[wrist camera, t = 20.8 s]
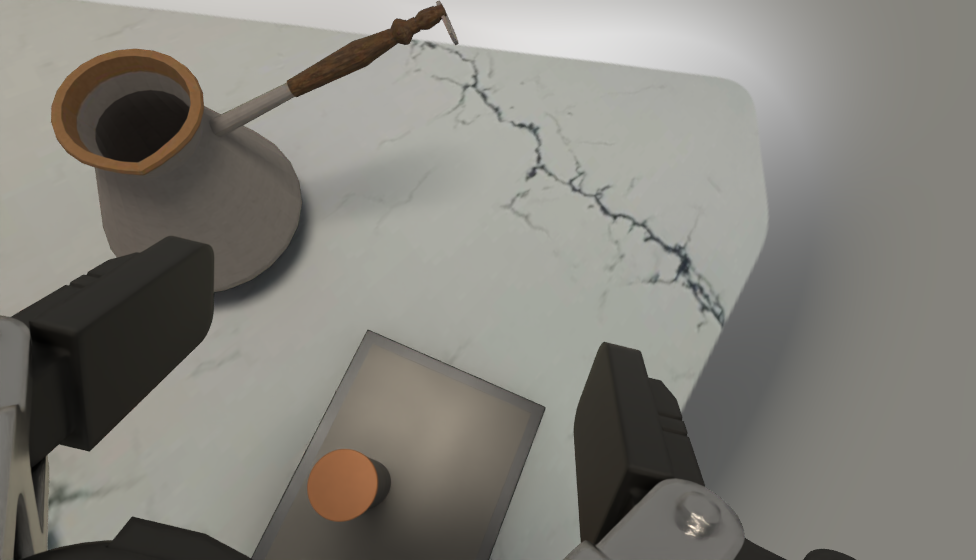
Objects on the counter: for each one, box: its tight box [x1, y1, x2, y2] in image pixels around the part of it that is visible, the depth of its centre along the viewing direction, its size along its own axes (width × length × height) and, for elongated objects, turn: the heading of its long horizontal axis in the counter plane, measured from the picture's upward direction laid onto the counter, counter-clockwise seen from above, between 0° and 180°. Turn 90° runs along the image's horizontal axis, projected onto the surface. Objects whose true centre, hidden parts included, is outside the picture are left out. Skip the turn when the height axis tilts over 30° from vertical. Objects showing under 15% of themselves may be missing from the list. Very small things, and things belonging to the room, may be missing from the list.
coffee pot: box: [51, 1, 458, 292], centre depth 32 cm, size 21×12×15 cm, turn 110°
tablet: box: [251, 330, 545, 560], centre depth 34 cm, size 12×16×1 cm
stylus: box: [307, 449, 391, 522], centre depth 28 cm, size 3×3×11 cm
